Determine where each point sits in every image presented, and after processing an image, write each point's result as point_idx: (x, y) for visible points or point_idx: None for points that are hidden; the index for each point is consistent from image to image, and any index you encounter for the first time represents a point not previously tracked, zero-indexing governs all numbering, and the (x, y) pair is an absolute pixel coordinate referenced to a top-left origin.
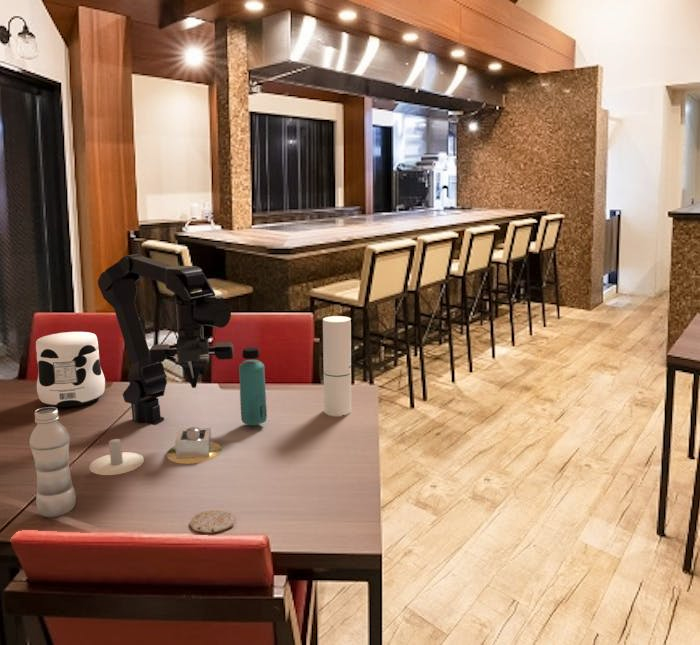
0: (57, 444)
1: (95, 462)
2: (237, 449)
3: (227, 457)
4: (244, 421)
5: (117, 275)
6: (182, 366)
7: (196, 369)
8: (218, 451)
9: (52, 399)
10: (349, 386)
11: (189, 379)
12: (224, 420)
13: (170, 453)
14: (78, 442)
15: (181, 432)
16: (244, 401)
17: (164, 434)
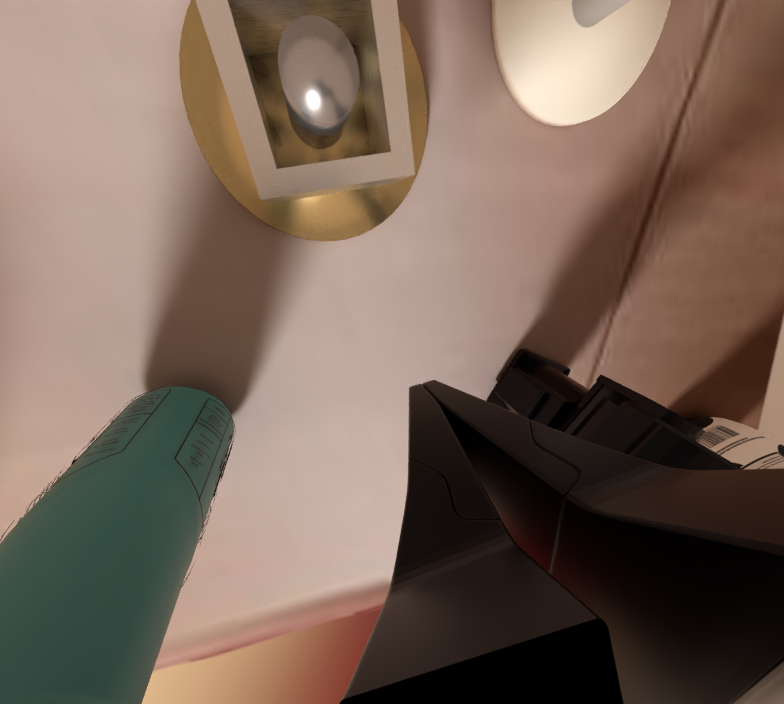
0: None
1: (655, 17)
2: (144, 183)
3: (145, 77)
4: (203, 395)
5: None
6: (731, 476)
7: (463, 513)
8: (200, 109)
9: (732, 422)
10: None
11: (484, 405)
12: (317, 431)
13: (411, 98)
14: (671, 241)
15: (393, 127)
16: (160, 455)
17: (467, 313)
